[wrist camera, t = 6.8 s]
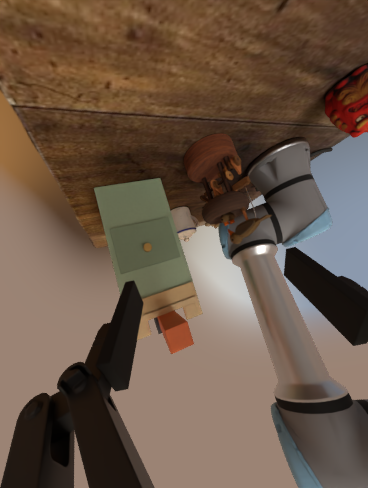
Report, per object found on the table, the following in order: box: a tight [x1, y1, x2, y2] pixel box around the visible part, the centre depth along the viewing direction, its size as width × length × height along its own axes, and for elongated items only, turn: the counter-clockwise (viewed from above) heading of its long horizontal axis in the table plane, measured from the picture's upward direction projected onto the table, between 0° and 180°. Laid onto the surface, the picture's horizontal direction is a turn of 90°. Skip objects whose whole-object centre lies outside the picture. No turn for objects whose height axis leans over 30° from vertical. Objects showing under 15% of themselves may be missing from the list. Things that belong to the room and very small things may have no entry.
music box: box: [184, 133, 272, 244], centre depth 35 cm, size 15×11×20 cm
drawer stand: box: [94, 178, 202, 340], centre depth 42 cm, size 14×18×30 cm
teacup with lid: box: [171, 207, 199, 242], centre depth 64 cm, size 12×9×12 cm
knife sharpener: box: [154, 310, 194, 354], centre depth 33 cm, size 4×23×4 cm, turn 166°
